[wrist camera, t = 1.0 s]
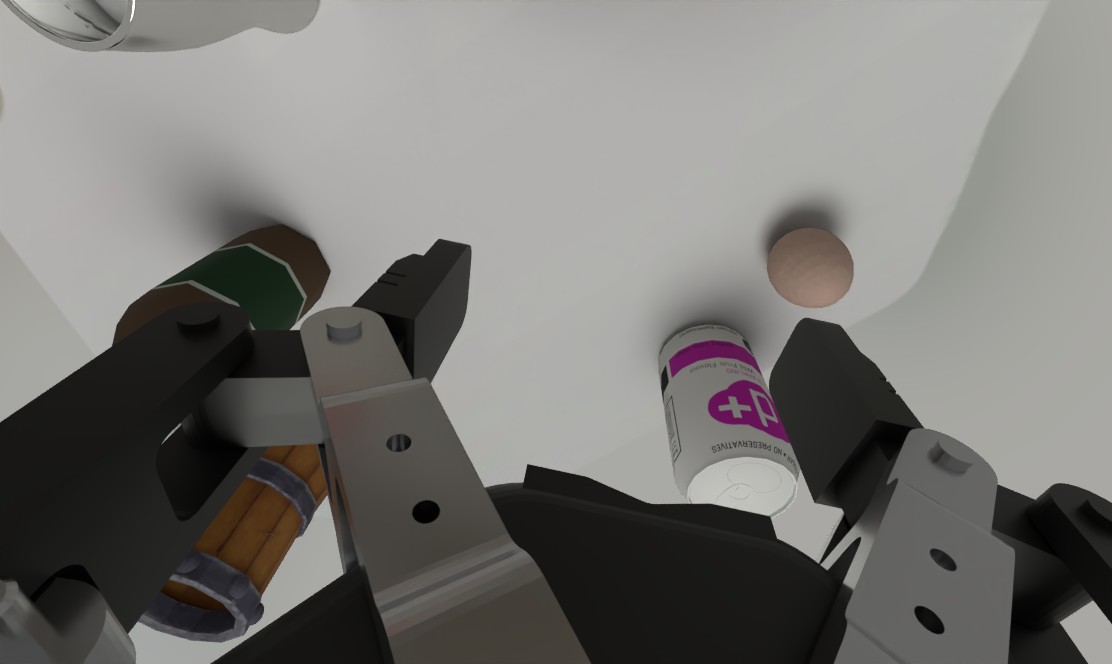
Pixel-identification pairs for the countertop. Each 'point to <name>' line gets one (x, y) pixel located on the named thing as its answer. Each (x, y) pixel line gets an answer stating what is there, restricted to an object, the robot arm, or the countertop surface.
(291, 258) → the beer bottle
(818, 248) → the egg
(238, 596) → the mug
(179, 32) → the beer glass
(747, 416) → the supplement can
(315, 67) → the countertop surface
